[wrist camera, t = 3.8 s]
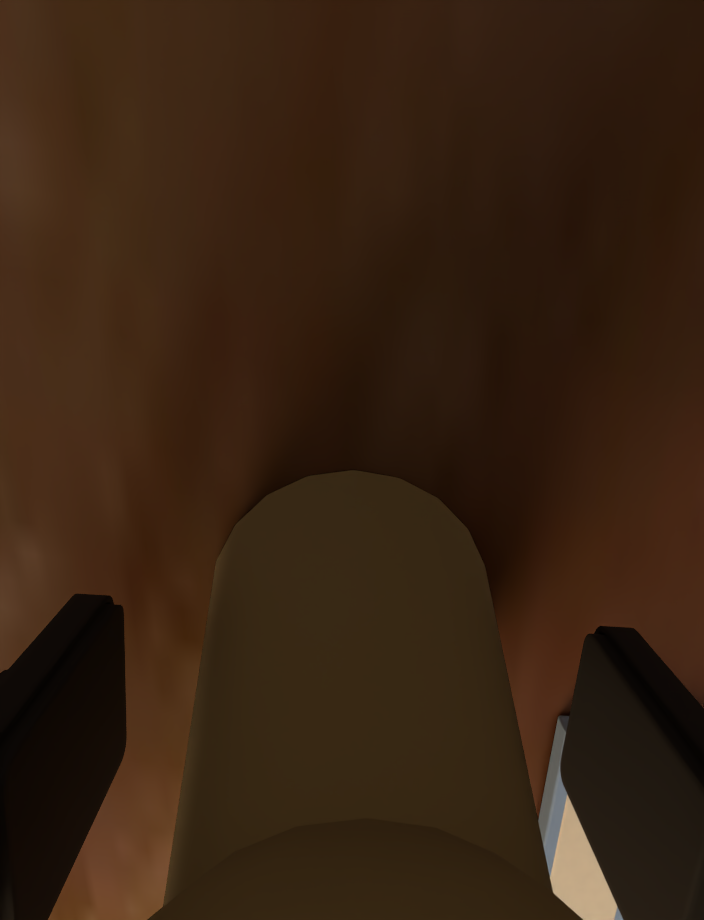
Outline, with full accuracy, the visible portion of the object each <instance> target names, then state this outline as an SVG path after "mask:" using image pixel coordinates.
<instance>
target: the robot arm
mask: <svg viewBox="0 0 704 920" xmlns="http://www.w3.org/2000/svg"><path fill="white" fill-rule="evenodd" d="M125 747H126V693H125V647H124V612H123V607H122V606H121V605H114V603H113V599H112V597H111V596H106V595H89V594H75V595H74V596H72V598H71V599H70V600H69V601H68V602H67V603H66V604H65V606H64V607H63V608H62V609H61V610H60V611H59V612H58V614H57V615H56V616H55V617H54V618H53V619H52V620H51V621H50V623H49V624H48V625H47V626H46V627H45V628H44V629H43V631H42V632H41V633H40V634H39V635H38V636H37V637H36V639H35V640H34V641H33V642H32V643H31V644H30V645H29V647H28V648H27V649H26V650H25V651H24V652H23V653H22V655H21V656H20V657H19V658H18V659H17V660H16V661H15V663H14V664H13V665H12V666H11V667H10V668H9V669H8V670H4V671H3V672H1V673H0V920H48V918H49V916H50V914H51V912H52V909H53V907H54V905H55V903H56V901H57V899H58V897H59V894H60V892H61V890H62V888H63V886H64V884H65V882H66V879H67V877H68V875H69V873H70V871H71V869H72V867H73V864H74V862H75V860H76V858H77V856H78V854H79V852H80V849H81V847H82V845H83V843H84V841H85V839H86V837H87V834H88V832H89V830H90V828H91V826H92V824H93V822H94V819H95V817H96V815H97V813H98V811H99V809H100V807H101V804H102V802H103V800H104V798H105V796H106V794H107V792H108V789H109V787H110V785H111V783H112V781H113V779H114V777H115V774H116V772H117V770H118V768H119V766H120V764H121V761H122V759H123V755H124V752H125ZM560 773H561V779H562V783H563V786H564V788H565V790H566V792H567V795H568V797H569V799H570V801H571V804H572V806H573V808H574V810H575V813H576V815H577V817H578V819H579V822H580V824H581V826H582V828H583V831H584V833H585V835H586V837H587V839H588V842H589V844H590V846H591V848H592V851H593V853H594V855H595V857H596V860H597V862H598V864H599V866H600V869H601V871H602V873H603V875H604V878H605V880H606V882H607V884H608V887H609V889H610V891H611V893H612V896H613V898H614V900H615V902H616V905H617V907H618V909H619V911H620V914H621V916H622V918H623V920H704V708H703V707H702V706H701V705H700V704H699V702H698V701H697V700H696V699H695V698H694V697H693V696H692V694H691V693H690V692H689V691H688V690H687V689H686V687H685V686H684V685H683V684H682V683H681V682H680V680H679V679H678V678H677V677H676V676H675V675H674V673H673V672H672V671H671V670H670V669H669V668H668V667H667V665H666V664H665V663H664V662H663V661H662V660H661V658H660V657H659V656H658V655H657V654H656V653H655V651H654V650H653V649H652V648H651V647H650V646H649V644H648V643H647V642H646V641H645V640H644V639H643V638H642V636H641V635H640V634H639V633H638V632H637V631H636V630H635V629H634V628H623V627H607V626H600V627H598V628H597V629H596V631H595V633H594V634H588V635H587V636H586V638H585V640H584V645H583V650H582V655H581V660H580V665H579V670H578V675H577V680H576V685H575V690H574V695H573V700H572V705H571V710H570V715H569V720H568V725H567V730H566V735H565V740H564V745H563V750H562V755H561V761H560Z"/></svg>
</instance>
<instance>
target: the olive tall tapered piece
mask: <svg viewBox="0 0 704 920" xmlns="http://www.w3.org/2000/svg"><path fill="white" fill-rule="evenodd" d="M148 920H583V919H582V918H581V917H580V916H579V915H577V914H576V913H575V912H574V911H573V910H572V909H571V908H570V907H568V906H567V905H566V904H565V903H564V902H563V901H562V900H561V899H559V898H558V897H557V896H556V895H555V894H554V893H553V890H552V885H551V880H550V875H549V870H548V866H547V861H546V856H545V851H544V846H543V842H542V837H541V832H540V827H539V822H538V818H537V813H536V808H535V803H534V798H533V794H532V789H531V784H530V779H529V775H528V770H527V765H526V760H525V755H524V751H523V746H522V741H521V736H520V731H519V727H518V722H517V717H516V712H515V707H514V703H513V698H512V693H511V688H510V683H509V679H508V674H507V669H506V664H505V659H504V655H503V650H502V645H501V640H500V636H499V631H498V626H497V621H496V616H495V612H494V607H493V602H492V597H491V592H490V588H489V583H488V578H487V573H486V568H485V565H484V563H483V561H482V558H481V556H480V554H479V552H478V550H477V547H476V545H475V543H474V541H473V539H472V536H471V534H470V532H469V530H468V528H467V527H466V526H465V525H464V524H463V523H462V522H461V521H460V520H459V519H458V518H457V517H456V516H455V515H454V514H453V513H452V512H451V511H450V510H449V509H448V508H447V507H446V506H445V505H444V504H443V503H442V501H441V500H440V499H439V498H437V497H435V496H433V495H431V494H429V493H427V492H425V491H423V490H421V489H420V488H418V487H416V486H414V485H412V484H410V483H408V482H406V481H404V480H402V479H400V478H397V477H392V476H386V475H380V474H374V473H369V472H363V471H357V470H349V471H342V472H334V473H326V474H319V475H311V476H307V477H305V478H302V479H300V480H298V481H296V482H294V483H292V484H290V485H287V486H285V487H283V488H281V489H279V490H277V491H274V492H272V493H270V494H268V495H266V496H265V497H264V498H263V499H262V500H261V501H260V502H259V503H258V504H257V505H256V506H255V507H254V508H253V509H252V510H250V511H249V512H248V513H247V514H246V515H245V516H244V517H243V518H242V519H241V520H240V521H239V522H238V523H237V524H235V526H234V528H233V530H232V532H231V534H230V536H229V538H228V540H227V541H226V543H225V545H224V547H223V549H222V551H221V553H220V555H219V557H218V558H217V560H216V565H215V571H214V578H213V584H212V591H211V597H210V604H209V610H208V617H207V623H206V630H205V636H204V643H203V649H202V656H201V662H200V669H199V676H198V682H197V689H196V695H195V702H194V708H193V715H192V721H191V728H190V734H189V741H188V747H187V754H186V760H185V767H184V773H183V780H182V786H181V793H180V800H179V806H178V813H177V819H176V826H175V832H174V839H173V845H172V852H171V858H170V865H169V871H168V878H167V884H166V891H165V897H164V904H163V907H162V908H161V909H160V910H159V911H157V912H156V913H155V914H154V915H153V916H151V917H150V918H149V919H148Z"/></svg>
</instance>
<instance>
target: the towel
mask: <svg viewBox="0 0 704 920" xmlns="http://www.w3.org/2000/svg"><path fill="white" fill-rule="evenodd" d="M568 720H569V716H559V717H558V721H557V726H556V731H555V736H554V741H553V747H552V752H551V757H550V762H549V767H548V772H547V778H546V783H545V788H544V793H543V798H542V803H541V809H540V814H539V819H538V822H539V827H540V832H541V837H542V842H543V846H544V851H545V856H546V861H547V866H548V870H549V875H550V880H551V885H552V890H553V893H554V894H555V895H556V896H557V897H558V898H559V899H561V900H562V901H563V902H564V903H565V904H566V905H567V906H568V907H570V908H571V909H572V910H573V911H574V912H575V913H576V914H577V915H579V916H580V917H581V918H582V919H583V920H623V918H622V916H621V914H620V911H619V909H618V907H617V905H616V902H615V900H614V898H613V896H612V893H611V891H610V889H609V887H608V884H607V882H606V880H605V878H604V875H603V873H602V871H601V869H600V866H599V864H598V862H597V860H596V857H595V855H594V853H593V851H592V848H591V846H590V844H589V842H588V839H587V837H586V835H585V833H584V831H583V828H582V826H581V824H580V822H579V819H578V817H577V815H576V813H575V810H574V808H573V806H572V804H571V801H570V799H569V797H568V795H567V792H566V790H565V788H564V786H563V783H562V779H561V773H560V761H561V755H562V750H563V745H564V740H565V735H566V730H567V725H568Z"/></svg>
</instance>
